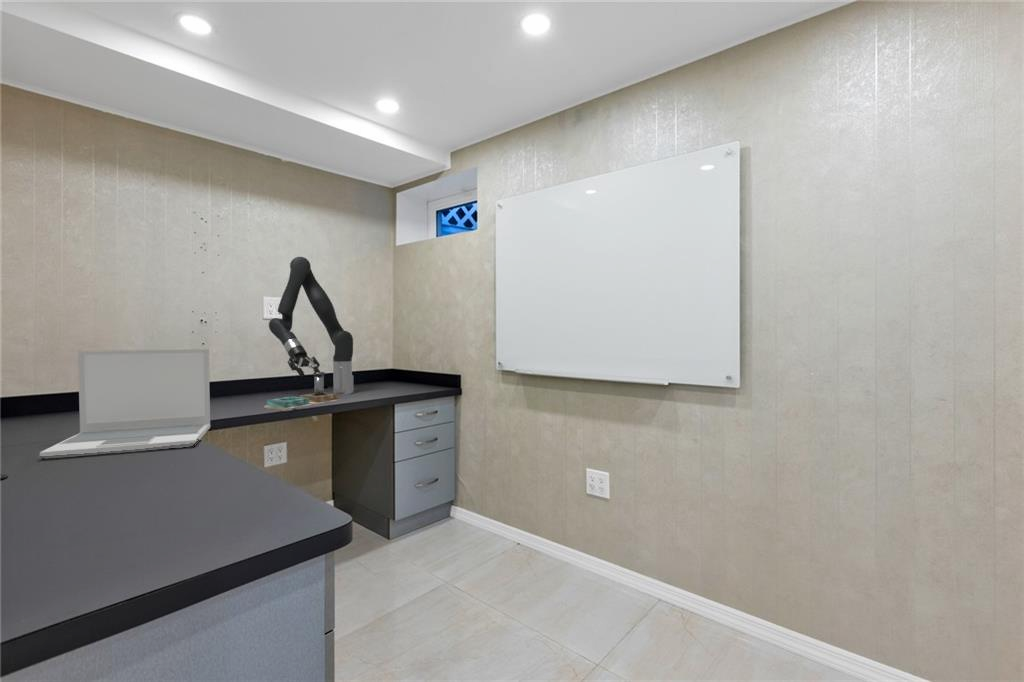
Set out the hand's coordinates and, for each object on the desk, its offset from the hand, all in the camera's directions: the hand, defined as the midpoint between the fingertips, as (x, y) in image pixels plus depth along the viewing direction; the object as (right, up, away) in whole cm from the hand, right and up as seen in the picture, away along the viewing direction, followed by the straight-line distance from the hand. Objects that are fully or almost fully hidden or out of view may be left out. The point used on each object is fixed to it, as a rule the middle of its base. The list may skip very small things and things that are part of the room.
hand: (311, 374), depth 226 cm
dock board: (+1, -13, -9) cm, 16 cm away
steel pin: (+5, -12, -2) cm, 13 cm away
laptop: (-20, -16, -80) cm, 84 cm away
